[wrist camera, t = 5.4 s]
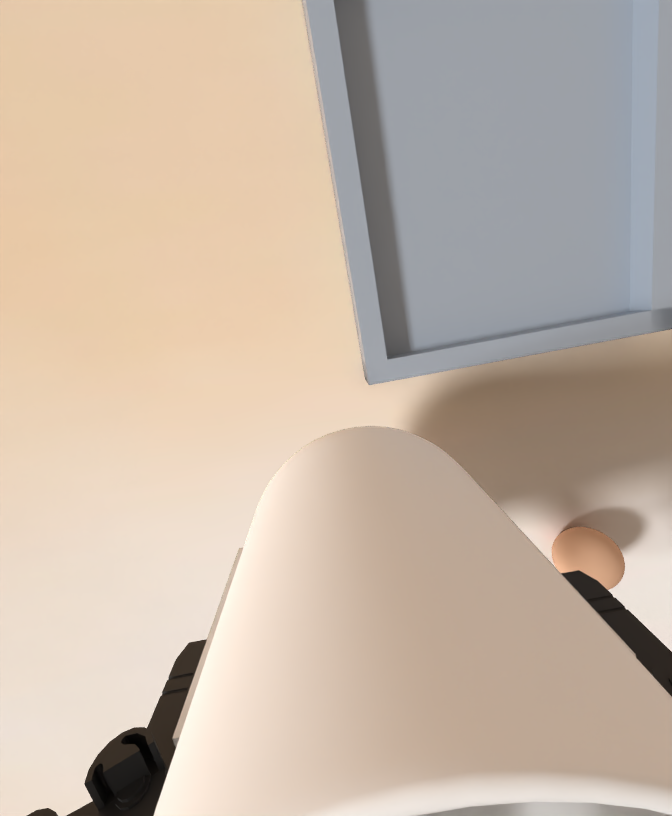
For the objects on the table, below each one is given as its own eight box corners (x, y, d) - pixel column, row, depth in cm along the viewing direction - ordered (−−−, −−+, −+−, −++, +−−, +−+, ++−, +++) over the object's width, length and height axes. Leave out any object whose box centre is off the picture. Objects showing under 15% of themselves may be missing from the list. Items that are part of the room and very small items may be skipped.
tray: (296, -36, 14) (291, -85, 13) (646, -109, 14) (691, -170, 12) (365, 379, 18) (369, 385, 17) (639, 328, 18) (673, 328, 16)
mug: (384, 688, 17) (485, 1299, 6) (212, 503, 14) (-102, 1045, 4) (546, 593, 16) (984, 1138, 5) (395, 373, 13) (688, 613, 3)
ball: (538, 521, 20) (576, 556, 17) (594, 511, 20) (642, 545, 17) (541, 568, 21) (577, 611, 18) (595, 559, 21) (641, 600, 18)
